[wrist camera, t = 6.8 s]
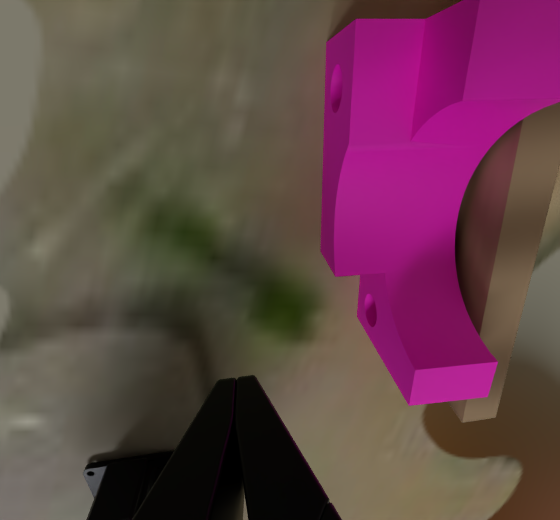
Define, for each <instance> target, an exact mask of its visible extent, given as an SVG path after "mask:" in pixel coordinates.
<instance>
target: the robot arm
mask: <svg viewBox="0 0 560 520" xmlns="http://www.w3.org/2000/svg"><path fill="white" fill-rule="evenodd" d="M83 475H84V477H85V479H86V481H87V484H88V486H89V488H90V490H91V492H92V494H93V496H94V501H93V504H92V506H91V509H90V512H89V514H88V517H87V520H243V508H244V492H245V499H246V506H247V513H248V520H342V519H341V517H340V516H339V514H338V512H337V511H336V509H335V507H334V506H333V504H332V503H329V498H328V496H327V495H326V493H325V491H324V490H323V488H322V486H321V485H320V483H319V481H318V480H317V478H316V476H315V475H314V473H313V471H312V470H311V468H310V466H309V465H308V463H307V461H306V460H305V458H304V456H303V455H302V453H301V451H300V450H299V448H298V446H297V445H296V443H295V441H294V440H293V438H292V436H291V435H290V433H289V431H288V430H287V428H286V426H285V425H284V423H283V421H282V420H281V418H280V416H279V415H278V413H277V411H276V410H275V408H274V406H273V405H272V403H271V401H270V400H269V398H268V396H267V395H266V393H265V391H264V390H263V388H262V386H261V385H260V383H259V381H258V380H257V378H256V377H255V376H254V375H250V376H242V377H238V379H237V380H236V379H235V378H227V379H220V380H218V381H217V383H216V384H215V386H214V387H213V389H212V391H211V392H210V394H209V396H208V397H207V399H206V400H205V402H204V404H203V405H202V407H201V409H200V410H199V412H198V413H197V415H196V417H195V418H194V420H193V422H192V423H191V425H190V426H189V428H188V430H187V431H186V433H185V435H184V436H183V438H182V439H181V441H180V443H179V444H178V446H177V448H176V449H175V451H174V452H165V453H158V454H151V455H145V456H138V457H132V458H125V459H118V460H112V461H105V462H98V463H92V464H88V465H87V466H86V468H85V470H84V472H83Z"/></svg>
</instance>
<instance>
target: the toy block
mask: <svg viewBox="0 0 560 520" xmlns="http://www.w3.org/2000/svg"><path fill="white" fill-rule="evenodd" d="M558 102H560V0H462V1H460V2H458V3H456V4H454V5H452V6H450V7H448V8H446V9H444V10H442V11H440V12H438V13H436V14H434V15H432V16H430V17H428V18H426V19H355V20H354V21H353V22H351V23H350V24H349V25H348V26H346V27H345V28H344V29H343V30H341V31H340V32H339V33H337V34H336V35H335V36H334V37H332V38H331V39H330V40H329V41H327V42H326V75H325V110H324V146H323V181H322V217H321V253H322V255H323V256H324V258H325V260H326V261H327V263H328V265H329V267H330V268H331V270H332V272H333V273H334V275H335V277H338V276H352V275H360V285H359V297H358V309H357V317H358V319H359V321H360V323H361V324H362V326H363V328H364V329H365V331H366V333H367V335H368V336H369V338H370V340H371V341H372V343H373V345H374V347H375V348H376V350H377V352H378V353H379V355H380V357H381V359H382V360H383V362H384V364H385V365H386V367H387V369H388V371H389V372H390V374H391V376H392V377H393V379H394V381H395V383H396V384H397V386H398V388H399V389H400V391H401V393H402V395H403V396H404V398H405V400H406V401H407V403H408V405H409V406H411V405H420V404H429V403H438V402H447V401H456V400H465V399H475V398H484V397H488V394H489V391H490V388H491V384H492V381H493V377H494V374H495V371H496V367H497V364H498V361H497V360H496V359H495V357H494V356H493V355H492V354H491V353H490V351H489V350H488V348H487V347H486V346H485V344H484V343H483V341H482V340H481V338H480V336H479V335H478V333H477V331H476V329H475V327H474V325H473V324H472V322H471V319H470V317H469V315H468V312H467V310H466V307H465V305H464V302H463V299H462V295H461V292H460V288H459V283H458V278H457V272H456V264H455V232H456V224H457V218H458V213H459V209H460V205H461V201H462V198H463V195H464V192H465V190H466V187H467V185H468V183H469V180H470V178H471V176H472V174H473V173H474V171H475V169H476V167H477V166H478V164H479V162H480V161H481V159H482V158H483V156H484V155H485V154H486V152H487V151H488V150H489V149H490V147H491V146H492V145H493V144H494V143H495V142H496V141H497V140H498V139H499V138H500V137H501V136H502V135H503V134H504V133H505V132H506V131H507V130H508V129H510V128H511V127H512V126H514V125H515V124H516V123H518V122H519V121H520V120H522V119H524V118H525V117H527V116H529V115H530V114H532V113H534V112H536V111H538V110H540V109H542V108H544V107H547V106H550V105H553V104H556V103H558Z"/></svg>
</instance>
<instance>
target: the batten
mask: <svg viewBox="0 0 560 520" xmlns="http://www.w3.org/2000/svg"><path fill="white" fill-rule="evenodd" d="M559 165H560V102H558V103H556V104H553V105H550V106H547V107H544V108H542V109H540V110H538V111H536V112H534V113H532V114H530V115H529V116H527V117H525V118H524V119H522V120H520V121H519V122H518V123H516V124H515V125H514V126H512V127H511V128H510V129H508V130H507V131H506V132H505V133H504V134H503V135H502V136H501V137H500V138H499V139H498V140H497V141H496V142H495V143H494V144H493V145H492V146H491V147H490V149H489V150H488V151H487V152H486V154H485V155H484V156H483V158H482V159H481V161H480V162H479V164H478V166H477V167H476V169H475V171H474V173H473V174H472V176H471V178H470V180H469V183H468V185H467V187H466V190H465V192H464V195H463V198H462V201H461V205H460V209H459V213H458V218H457V224H456V232H455V264H456V272H457V278H458V283H459V288H460V292H461V295H462V299H463V302H464V305H465V307H466V310H467V312H468V315H469V317H470V319H471V322H472V324H473V325H474V327H475V329H476V331H477V333H478V335H479V336H480V338H481V340H482V341H483V343H484V344H485V346H486V347H487V348H488V350H489V351H490V353H491V354H492V355H493V356H494V357H495V359H496V360H497V361H498V364H497V367H496V371H495V374H494V377H493V381H492V384H491V388H490V391H489V394H488V397H484V398H475V399H465V400H456V401H447V402H448V403H449V405H450V406H451V408H452V409H453V410H454V412H455V413H456V414H457V416H458V417H459V419H460V420H461V421H462V422H469V421H475V420H482V419H489V418H495V417H496V413H497V409H498V405H499V401H500V398H501V394H502V390H503V386H504V382H505V378H506V373H507V370H508V366H509V362H510V358H511V354H512V350H513V346H514V342H515V338H516V334H517V331H518V326H519V322H520V318H521V315H522V311H523V307H524V303H525V299H526V295H527V291H528V287H529V283H530V279H531V275H532V271H533V268H534V264H535V260H536V256H537V252H538V248H539V244H540V240H541V236H542V232H543V228H544V224H545V220H546V216H547V212H548V208H549V204H550V201H551V197H552V193H553V189H554V185H555V181H556V177H557V173H558V169H559Z"/></svg>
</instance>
